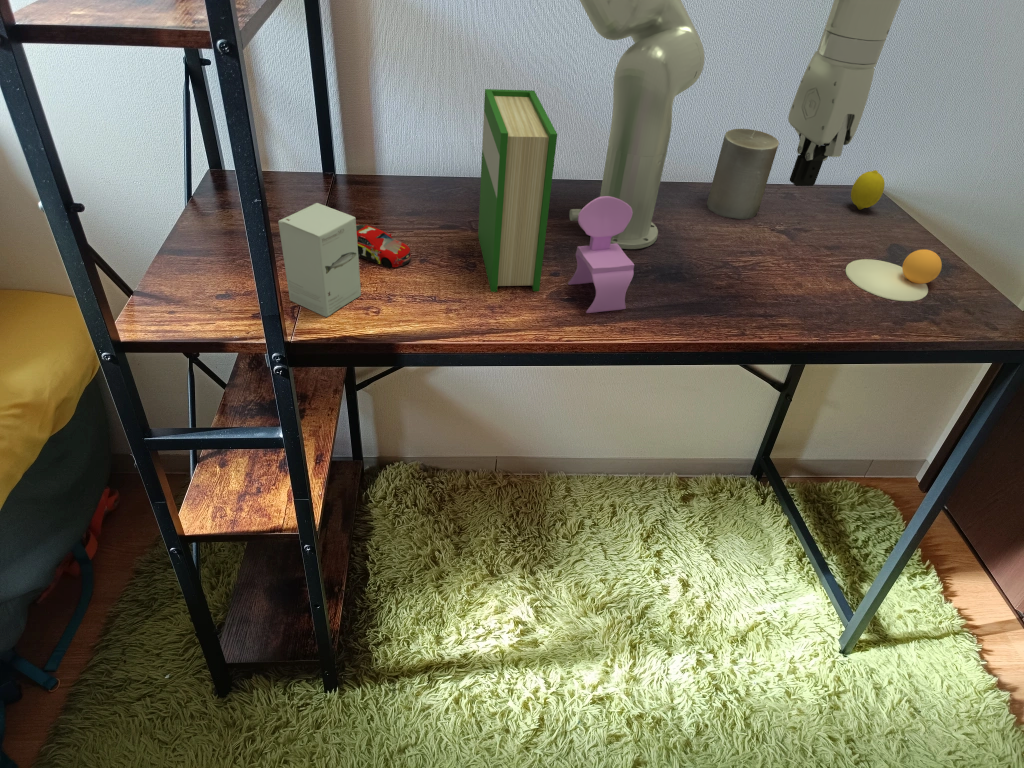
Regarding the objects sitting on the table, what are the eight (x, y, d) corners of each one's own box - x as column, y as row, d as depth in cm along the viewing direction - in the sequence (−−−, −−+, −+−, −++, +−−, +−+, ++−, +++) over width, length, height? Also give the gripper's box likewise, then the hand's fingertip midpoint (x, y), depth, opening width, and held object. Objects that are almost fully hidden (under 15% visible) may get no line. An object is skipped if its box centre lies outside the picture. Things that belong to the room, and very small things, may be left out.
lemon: (869, 204, 140) (885, 166, 134) (877, 217, 135) (895, 177, 130) (841, 201, 140) (857, 163, 135) (849, 213, 135) (865, 174, 130)
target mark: (873, 302, 110) (873, 301, 110) (830, 261, 120) (831, 260, 120) (944, 299, 112) (945, 298, 112) (897, 259, 122) (897, 258, 122)
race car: (418, 260, 111) (417, 237, 108) (397, 274, 107) (397, 251, 104) (352, 236, 115) (350, 213, 112) (330, 249, 111) (328, 226, 109)
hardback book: (539, 291, 105) (557, 134, 90) (491, 292, 104) (501, 133, 89) (521, 235, 119) (534, 90, 103) (478, 235, 118) (484, 89, 102)
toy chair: (581, 315, 101) (596, 221, 92) (561, 284, 108) (574, 193, 98) (633, 310, 103) (653, 218, 94) (610, 279, 110) (627, 190, 100)
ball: (949, 281, 114) (915, 295, 115) (928, 264, 118) (896, 278, 119) (949, 254, 110) (914, 269, 111) (928, 237, 115) (894, 252, 116)
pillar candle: (731, 194, 139) (752, 118, 129) (768, 214, 132) (793, 136, 123) (695, 202, 134) (714, 125, 125) (731, 224, 128) (754, 144, 119)
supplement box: (327, 319, 96) (317, 236, 88) (288, 300, 99) (275, 219, 91) (363, 296, 101) (357, 216, 93) (325, 279, 104) (316, 200, 96)
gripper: (795, 32, 94) (755, 163, 106) (855, 65, 83) (802, 207, 95) (844, 34, 96) (799, 163, 107) (910, 66, 85) (851, 206, 96)
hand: (801, 183), depth 101 cm, fingers closed
